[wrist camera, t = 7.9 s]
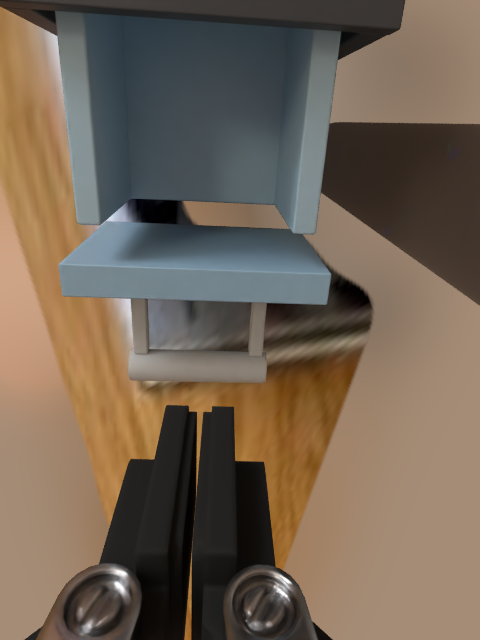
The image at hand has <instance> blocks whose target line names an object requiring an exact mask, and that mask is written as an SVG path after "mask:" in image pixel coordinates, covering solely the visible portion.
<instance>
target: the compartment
mask: <svg viewBox="0 0 480 640" xmlns="http://www.w3.org/2000/svg"><path fill="white" fill-rule="evenodd" d="M404 4H405V0H0V7H3V8H5V9H7V10H9V11H10V12H12V13H14V14H16V15H18V16H20V17H22V18H24V19H26V20H28V21H30V22H32V23H33V24H35V25H37V26H39V27H41V28H43V29H45V30H47V31H49V32H51V33H53V34H55V35H57V26H56V17H55V11H64V12H78V13H92V14H106V15H120V16H134V17H148V18H161V19H175V20H189V21H203V22H217V23H231V24H245V25H258V26H272V27H286V28H300V29H314V30H328V31H341V37H340V45H339V53H338V60H339V59H341V58H343V57H345V56H347V55H349V54H351V53H353V52H354V51H357V50H359V49H361V48H363V47H364V46H367V45H368V44H371V43H372V42H374V41H376V40H378V39H380V38H382V37H384V36H386V35H390V34H392V33H394V32H396V31H398V30H399V29H400V26H401V21H402V16H403V10H404Z"/></svg>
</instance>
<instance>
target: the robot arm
mask: <svg viewBox="0 0 480 640" xmlns="http://www.w3.org/2000/svg"><path fill="white" fill-rule="evenodd" d="M196 454H197V412H189V406H178V405H167V406H166V409H165V413H164V418H163V422H162V427H161V432H160V436H159V441H158V445H157V450H156V455H155V459H154V460H148V459H131V460H130V461H129V463H128V466H127V470H126V473H125V476H124V480H123V483H122V487H121V490H120V494H119V497H118V501H117V504H116V507H115V511H114V514H113V518H112V521H111V525H110V528H109V532H108V535H107V538H106V542H105V545H104V549H103V553H102V556H101V559H100V563H99V564H98V565H95V566H91V567H88V568H87V569H85V570H83V571H81V572H80V573H78V574H77V575H76V576H75V577H73V578H72V579H71V580H70V581H69V582H68V583H67V584H66V585H65V587H64V588H63V589H62V591H61V592H60V594H59V595H58V597H57V599H56V601H55V603H54V605H53V607H52V609H51V611H50V613H49V615H48V617H47V619H46V621H45V623H44V625H43V626H42V627H41V628H40V629H38V630H37V631H36V632H34V633H33V634H31V635H30V636H29V637H28V638H26V639H25V640H184V636H185V624H186V612H187V600H188V588H189V576H190V564H191V553H192V640H332V639H331V638H330V637H329V636H328V635H327V634H326V633H325V632H324V631H322V630H321V629H320V628H319V627H318V626H317V625H316V624H315V623H314V622H312V620H311V617H310V613H309V610H308V607H307V604H306V600H305V597H304V595H303V593H302V591H301V589H300V587H299V585H298V584H297V583H296V581H295V580H294V579H293V578H292V577H291V576H290V575H289V574H287V573H286V572H284V571H283V570H281V569H280V568H276V567H275V557H274V548H273V539H272V529H271V520H270V511H269V501H268V492H267V483H266V473H265V465H264V462H248V461H235V437H234V407H217V406H212V412H204V413H203V424H202V436H201V448H200V460H199V472H198V484H197V496H196ZM195 505H196V508H195ZM194 517H195V520H194ZM193 529H194V532H193ZM192 541H193V546H192Z"/></svg>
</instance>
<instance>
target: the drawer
mask: <svg viewBox="0 0 480 640" xmlns="http://www.w3.org/2000/svg"><path fill="white" fill-rule="evenodd" d="M55 17H56V26H57V36H58V45H59V55H60V64H61V74H62V83H63V93H64V102H65V112H66V121H67V131H68V140H69V150H70V159H71V168H72V178H73V187H74V197H75V206H76V216H77V222H78V224H82V225H101V224H102V223H103V222H104V221H106V220H107V219H108V218H109V217H110V216H111V215H112V214H114V213H115V212H116V211H117V210H118V209H119V208H120V207H122V206H123V205H124V204H125V203H126V202H127V201H128V200H129V199H131V198H137V199H159V200H180V201H202V202H203V201H204V202H224V203H245V204H266V205H275V206H276V208H277V209H278V211H279V212H280V214H281V215H282V217H283V218H284V220H285V221H286V223H287V225H288V226H289V228H290V229H272V228H249V227H226V226H203V225H180V224H156V223H133V222H110V221H106V222H105V223H104V224H103V225H102V226H101V227H99V228H98V229H97V230H96V231H95V232H94V233H93V234H92V235H90V236H89V237H88V238H87V239H86V240H85V241H84V242H83V243H82V244H80V245H79V246H78V247H77V248H76V249H75V250H74V251H73V252H71V253H70V254H69V255H68V256H67V257H66V258H65V259H64V260H62V261H61V262H60V263H59V273H60V281H61V289H62V295H63V296H69V297H100V298H131V309H132V326H133V344H134V349H132V350H131V352H130V355H129V363H128V373H129V378H130V380H139V381H187V382H235V383H265V381H266V374H267V358H266V353H265V352H263V341H264V330H265V318H266V306H267V303H285V304H316V305H327V301H328V294H329V288H330V281H331V273H330V272H329V270H328V269H327V268H326V266H325V265H324V263H323V262H322V261H321V259H320V258H319V257H318V255H317V254H316V252H315V251H314V250H313V248H312V247H311V246H310V244H309V243H308V241H307V240H306V239H305V237H304V236H303V235H302V234H315V232H316V226H317V218H318V210H319V201H320V194H321V186H322V179H323V171H324V163H325V155H326V147H327V139H328V131H329V124H330V123H329V122H330V116H331V108H332V100H333V92H334V83H335V76H336V68H337V61H338V53H339V45H340V37H341V31H328V30H314V29H300V28H286V27H272V26H258V25H245V24H231V23H217V22H203V21H189V20H175V19H161V18H148V17H134V16H120V15H106V14H92V13H78V12H64V11H55ZM148 299H161V300H192V301H223V302H251V316H250V331H249V345H248V352H240V351H200V350H161V349H149V323H148Z"/></svg>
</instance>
